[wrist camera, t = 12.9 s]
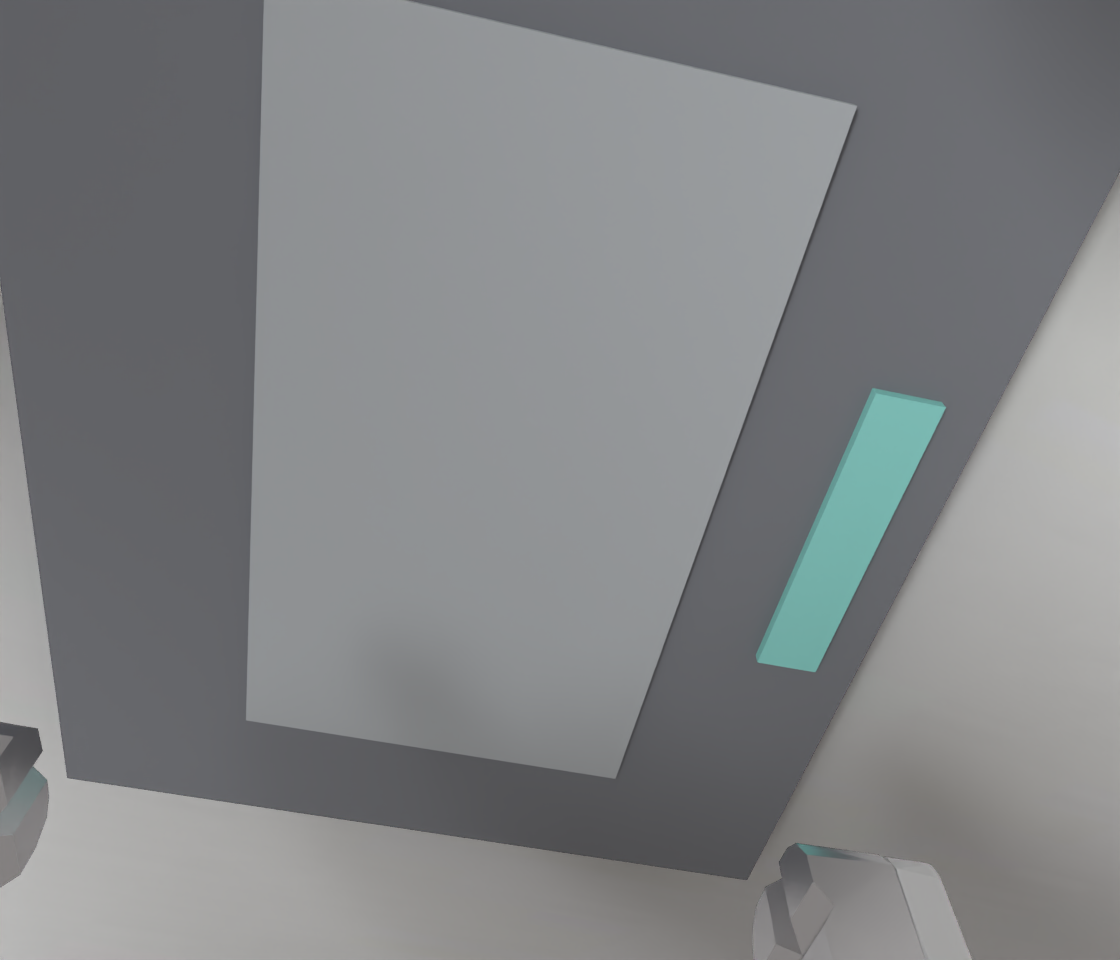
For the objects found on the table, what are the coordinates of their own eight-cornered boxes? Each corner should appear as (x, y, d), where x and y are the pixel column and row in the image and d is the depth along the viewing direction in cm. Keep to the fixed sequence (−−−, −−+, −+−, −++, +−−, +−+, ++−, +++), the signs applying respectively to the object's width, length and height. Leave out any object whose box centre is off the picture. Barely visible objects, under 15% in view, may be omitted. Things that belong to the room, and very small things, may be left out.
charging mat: (-41, -404, 10) (-109, -441, 9) (1203, -79, 12) (1262, -80, 11) (88, 743, 21) (63, 785, 20) (740, 843, 22) (748, 887, 21)
